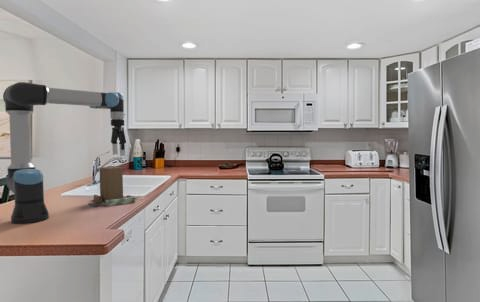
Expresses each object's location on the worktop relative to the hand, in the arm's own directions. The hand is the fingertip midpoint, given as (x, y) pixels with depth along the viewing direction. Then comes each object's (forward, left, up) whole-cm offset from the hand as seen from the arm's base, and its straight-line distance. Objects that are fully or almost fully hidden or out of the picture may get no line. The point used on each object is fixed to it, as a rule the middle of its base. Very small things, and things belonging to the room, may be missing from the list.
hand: (118, 155), depth 203 cm
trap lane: (-4, +1, -27) cm, 28 cm away
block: (-4, +4, -28) cm, 28 cm away
